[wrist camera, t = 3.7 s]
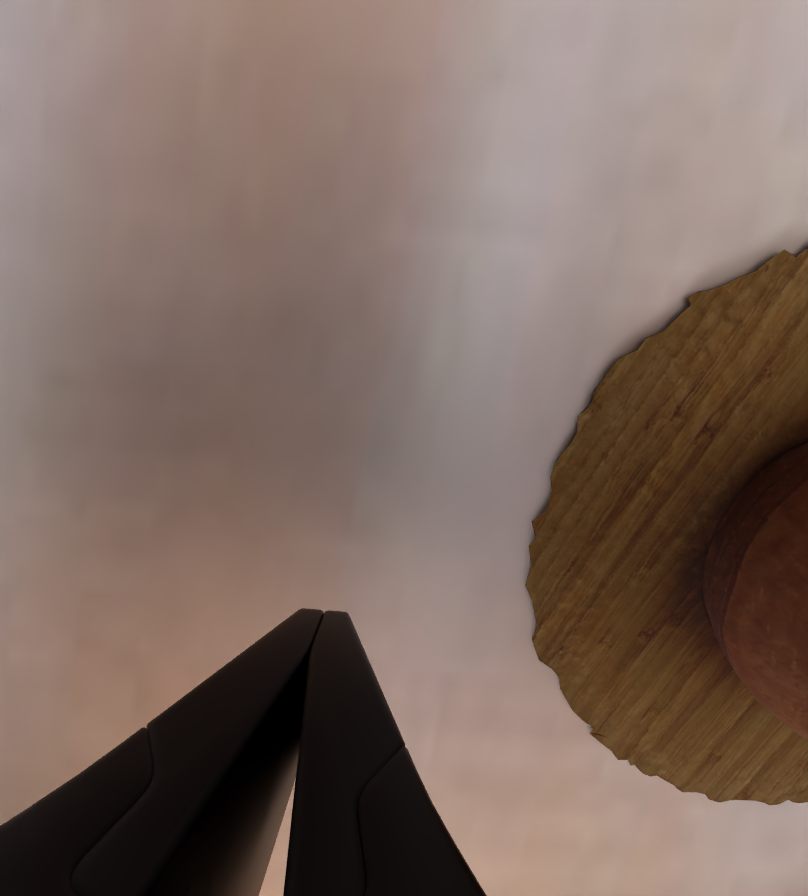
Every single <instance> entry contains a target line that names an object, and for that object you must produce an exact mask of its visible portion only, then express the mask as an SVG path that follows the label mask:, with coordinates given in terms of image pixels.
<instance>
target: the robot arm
mask: <svg viewBox="0 0 808 896" xmlns="http://www.w3.org/2000/svg"><path fill="white" fill-rule="evenodd" d="M295 778H296V782H295V791H294V801H293V810H292V820H291V829H290V838H289V848H288V857H287V867H286V876H285V886H284V895H283V896H486V894H485V893H484V891H483V889H482V888H481V886H480V884H479V883H478V881H477V879H476V878H475V876H474V874H473V873H472V871H471V869H470V868H469V866H468V864H467V863H466V861H465V859H464V858H463V856H462V854H461V853H460V851H459V849H458V848H457V846H456V844H455V843H454V841H453V839H452V837H451V835H450V834H449V832H448V830H447V828H446V827H445V825H444V823H443V821H442V819H441V818H440V816H439V814H438V812H437V811H436V809H435V807H434V805H433V803H432V801H431V799H430V797H429V795H428V793H427V791H426V789H425V787H424V785H423V783H422V780H421V778H420V776H419V774H418V772H417V770H416V768H415V765H414V763H413V761H412V758H411V756H410V754H409V751H408V749H407V748H406V747H405V743H404V741H403V738H402V736H401V734H400V731H399V729H398V727H397V724H396V722H395V720H394V718H393V715H392V713H391V711H390V708H389V706H388V704H387V701H386V699H385V697H384V694H383V692H382V690H381V688H380V685H379V683H378V681H377V678H376V676H375V674H374V671H373V669H372V667H371V664H370V662H369V660H368V657H367V655H366V653H365V651H364V648H363V646H362V644H361V641H360V639H359V637H358V634H357V632H356V630H355V627H354V625H353V623H352V621H351V618H350V616H349V614H348V613H347V612H341V611H326V612H325V613H323V611H322V610H316V609H304V608H302V609H300V610H298V611H297V612H295V613H294V614H293V615H291V616H290V617H289V618H287V619H286V620H285V621H283V622H282V623H281V624H279V625H278V626H277V627H275V628H274V629H273V630H271V631H270V632H269V633H267V634H266V635H265V636H263V637H262V638H261V639H259V640H258V641H257V642H255V643H254V644H253V645H252V646H250V647H249V648H248V649H246V650H245V651H244V652H242V653H241V654H240V655H238V656H237V657H236V658H234V659H233V660H232V661H230V662H229V663H228V664H226V665H225V666H224V667H222V668H221V669H220V670H218V671H217V672H216V673H214V674H213V675H212V676H210V677H209V678H208V679H206V680H205V681H204V682H202V683H201V684H200V685H198V686H197V687H196V688H194V689H193V690H192V691H190V692H189V693H188V694H186V695H185V696H184V697H182V698H181V699H180V700H178V701H177V702H176V703H175V704H173V705H172V706H171V707H169V708H168V709H167V710H165V711H164V712H163V713H161V714H160V715H159V716H157V717H156V718H155V719H153V720H152V721H151V722H149V723H148V724H147V729H146V728H145V727H143V728H141V729H140V730H138V731H137V732H136V733H134V734H133V735H132V736H130V737H129V738H128V739H126V740H125V741H124V742H122V743H121V744H120V745H118V746H117V747H116V748H114V749H113V750H111V751H110V752H109V753H107V754H106V755H105V756H103V757H102V758H100V759H99V760H98V761H96V762H95V763H93V764H92V765H91V766H89V767H88V768H86V769H85V770H84V771H82V772H81V773H80V774H78V775H77V776H75V777H74V778H72V779H71V780H69V781H68V782H66V783H65V784H63V785H62V786H60V787H59V788H57V789H56V790H54V791H53V792H51V793H50V794H48V795H47V796H45V797H44V798H42V799H41V800H39V801H38V802H36V803H35V804H33V805H32V806H30V807H29V808H27V809H26V810H24V811H23V812H21V813H20V814H18V815H17V816H15V817H13V818H12V819H10V820H9V821H7V822H6V823H4V824H3V825H1V826H0V896H259V892H260V889H261V886H262V883H263V880H264V877H265V873H266V870H267V867H268V864H269V861H270V857H271V854H272V851H273V848H274V845H275V841H276V838H277V835H278V832H279V829H280V826H281V822H282V819H283V816H284V813H285V810H286V806H287V803H288V800H289V797H290V794H291V790H292V787H293V784H294V781H295Z"/></svg>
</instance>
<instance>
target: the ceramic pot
mask: <svg viewBox="0 0 808 896" xmlns="http://www.w3.org/2000/svg"><path fill="white" fill-rule="evenodd" d="M688 299H689V302H690V304H691V306H690V307H689V308H687V309H686V310H685V311H684V312H682V313H681V314H680V315H679V316H678V317H677V318H676V319H675V320H674V321H673V322H672V323H671V324H670V325H669V326H668V328H667V329H666V330H665V331H664V332H661V333H659V334H656V335H654V336H651V337H648V338H646V339H645V341H644V342H643V343H642V345H641V346H640V348H639V349H638V350H637V351H634V352H632V353H630V354H627V355H625V356H623V357H621V358H620V359H619V360H618V361H617V362H616V363H615V364H614V366H613V367H612V368H611V369H610V370H609V372H608V373H607V374H606V376H605V377H604V379H603V381H602V382H601V383H600V384H599V385H598V387H597V388H596V389H595V392H594V396H593V399H592V402H591V405H590V406H589V407H588V408H587V409H586V410H585V411H584V412H583V413H581V414H580V415H579V416H578V426H577V434H576V435H575V437H574V439H573V440H572V442H571V444H570V445H569V446H568V448H567V449H566V450H565V451H564V452H563V453H562V454H561V456H560V457H559V459H558V460H557V462H556V464H555V465H554V468H553V471H552V474H551V490H552V491H551V495H550V500H549V504H548V508H547V510H546V511H545V512H543V513H542V514H541V515H540V516H539V517H537V518H536V519H534V520H533V521H532V524H533V528H534V531H535V535H536V538H535V540H534V541H533V542H532V543H531V544H530V545H529V550H530V559H531V568H530V571H529V574H528V578H527V581H526V585H525V586H526V588H527V590H528V592H529V594H530V597H531V599H532V601H533V607H534V613H535V618H536V622H537V628H536V630H535V633H534V635H533V638H532V640H533V643H534V647H535V650H536V653H537V655H538V658H539V660H540V661H541V662H543V663H544V664H546V665H547V666H549V667H550V668H551V669H553V671H554V672H555V673H556V674H557V675H558V676H559V680H560V689H561V691H562V693H563V694H564V696H565V698H566V700H567V702H568V703H569V705H570V707H571V708H572V710H573V711H574V712H575V713H576V714H577V715H578V716H579V717H580V718H581V719H582V720H583V721H584V722H586V723H587V724H589V725H591V726H593V727H594V728H593V730H592V731H591V732H590V734H591V735H592V736H593V737H595V738H596V739H597V740H598V741H599V742H600V743H602V744H603V745H605V746H606V747H607V748H609V749H610V750H611V751H612V752H613V754H614V755H615V757H616V758H617V759H618V760H629V763H630V765H636V767H637V768H638V769H639V770H640V771H641V772H642V773H643V774H645V775H648V776H656V775H657V776H659V777H660V778H662V779H664V780H666V781H668V782H669V783H671V784H673V785H674V786H675V787H676V788H677V789H679V790H680V791H682V792H698V793H703V794H705V795H706V796H707V797H708V799H710V800H713V801H716V802H723V801H729V800H755V801H760V802H764V803H766V804H768V805H777V804H781V803H782V802H784V801H786V800H790V801H792V802H796V803H804V802H808V248H807V249H806V250H805V251H803V252H802V253H801V254H799V255H798V256H797V257H795V256H793V255H792V254H791V253H789V252H788V251H786V250H783V251H782V252H780V253H779V254H777V255H776V256H774V257H773V258H771V259H770V260H768V261H767V262H766V263H765V264H763V265H762V266H761V267H760V268H759V269H758V270H757V271H755V272H754V273H751V274H748V275H744V276H741V277H739V278H737V279H735V280H733V281H731V282H729V283H727V284H725V285H723V286H721V287H717V288H714V289H711V290H708V291H701V292H697V293H695V294H694V295H692V296H690V297H688Z"/></svg>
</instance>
